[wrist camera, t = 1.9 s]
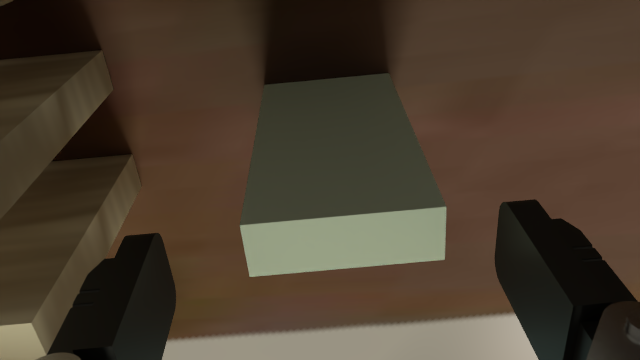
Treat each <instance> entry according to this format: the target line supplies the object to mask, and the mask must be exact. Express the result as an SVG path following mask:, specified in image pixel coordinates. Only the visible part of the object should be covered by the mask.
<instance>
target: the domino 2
mask: <svg viewBox="0 0 640 360" xmlns="http://www.w3.org/2000/svg"><path fill="white" fill-rule="evenodd" d="M141 187H142V186H141V183H140V179H139V176H138V172H137V169H136V165H135V162H134V158H133V155H132V154H128V155H117V156H106V157H95V158H85V159H74V160H63V161H52V162H50V163H49V164H48V166H47V167H46V168H45V169H44V170H43V171H42V173H41V174H40V175H39V176H38V177H37V178H36V179H35V181H34V182H33V183H32V184H31V185H30V186H29V187H28V189H27V190H26V191H25V192H24V193H23V194H22V196H21V197H20V198H19V199H18V200H17V201H16V202H15V204H14V205H13V206H12V207H11V208H10V209H9V210H8V212H7V213H6V214H5V215H4V216H3V217H2V219H1V220H0V360H36V359H38V358H40V357H43V356H45V355H47V353H48V351H49V349H50V347H51V345H52V343H53V341H54V339H55V337H56V335H57V333H58V332H59V330H60V328H61V326H62V324H63V322H64V320H65V318H66V316H67V314H68V312H69V310H70V308H72V307H73V305H72V304H73V302H74V300H75V298H76V296H77V294H79V293H80V292H79V290H80V288H81V286H82V284H83V282H84V280H85V279H86V277H87V275H88V273H90V272H91V271H92V270H93V269H94V268H95V267H96V266H97V265H98V264H99V263H100V262H101V261H102V260H103V259H105V258H106V256H107V254H108V252H109V250H110V248H111V246H112V244H113V242H114V240H115V238H116V236H117V234H118V232H119V230H120V228H121V226H122V224H123V222H124V220H125V218H126V216H127V214H128V212H129V210H130V208H131V206H132V204H133V202H134V200H135V199H136V197H137V195H138V193H139V191H140V189H141Z"/></svg>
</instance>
